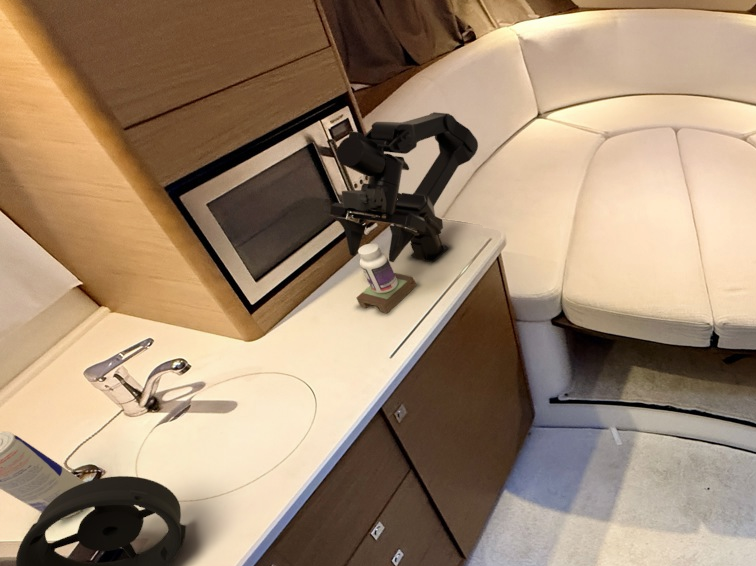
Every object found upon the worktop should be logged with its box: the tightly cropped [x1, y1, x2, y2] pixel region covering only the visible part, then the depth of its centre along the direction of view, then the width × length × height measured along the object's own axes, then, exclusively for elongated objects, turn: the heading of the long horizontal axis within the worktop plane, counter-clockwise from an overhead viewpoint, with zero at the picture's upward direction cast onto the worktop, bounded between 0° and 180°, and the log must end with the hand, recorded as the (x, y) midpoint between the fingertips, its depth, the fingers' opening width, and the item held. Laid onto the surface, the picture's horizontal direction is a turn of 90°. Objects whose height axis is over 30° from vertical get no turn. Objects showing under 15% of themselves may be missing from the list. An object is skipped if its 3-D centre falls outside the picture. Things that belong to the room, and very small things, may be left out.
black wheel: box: [15, 475, 187, 566], centre depth 68 cm, size 14×14×10 cm
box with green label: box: [355, 272, 417, 314], centre depth 112 cm, size 10×7×3 cm
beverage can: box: [0, 431, 86, 519], centre depth 73 cm, size 6×6×15 cm
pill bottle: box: [357, 243, 398, 293], centre depth 108 cm, size 5×5×10 cm
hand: (371, 258), depth 106 cm, fingers open, 9 cm apart
